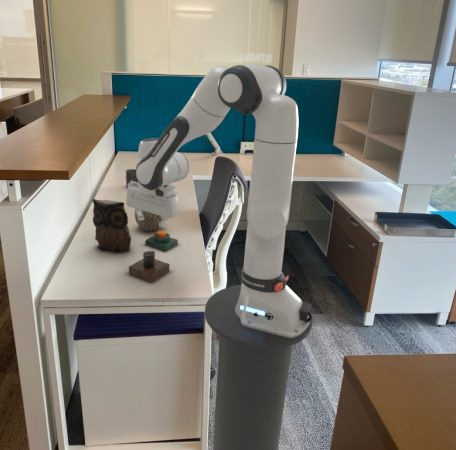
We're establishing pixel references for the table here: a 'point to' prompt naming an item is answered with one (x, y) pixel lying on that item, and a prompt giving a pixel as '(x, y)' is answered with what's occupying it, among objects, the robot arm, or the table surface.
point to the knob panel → (149, 270)
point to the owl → (111, 226)
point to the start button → (161, 234)
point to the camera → (130, 176)
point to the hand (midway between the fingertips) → (151, 223)
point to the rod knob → (149, 259)
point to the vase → (149, 221)
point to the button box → (162, 242)
